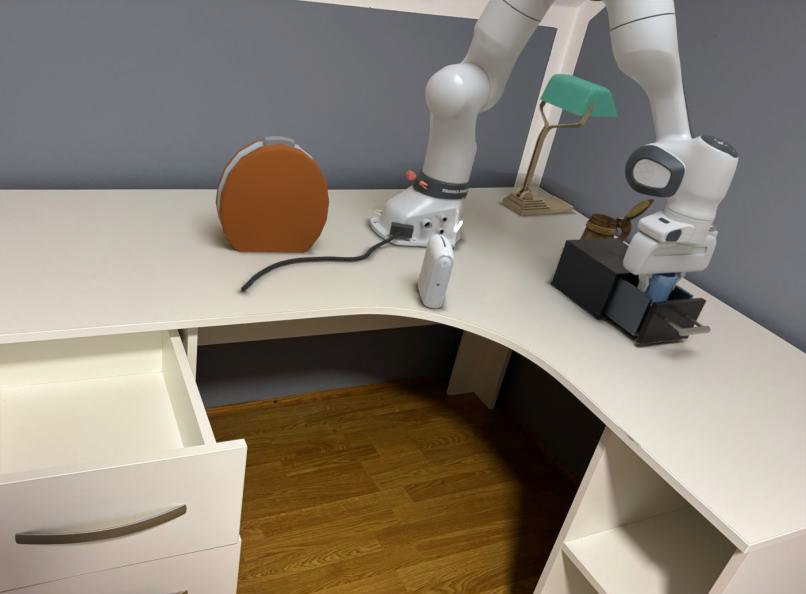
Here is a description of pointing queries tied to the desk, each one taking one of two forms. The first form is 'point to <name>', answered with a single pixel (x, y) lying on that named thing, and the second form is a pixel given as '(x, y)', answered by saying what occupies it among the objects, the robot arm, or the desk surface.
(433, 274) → the photo printer
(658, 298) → the cup
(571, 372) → the desk surface
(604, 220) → the wooden mug
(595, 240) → the black box
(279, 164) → the alarm clock
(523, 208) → the banker's lamp
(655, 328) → the drawer
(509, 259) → the desk surface
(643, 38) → the robot arm
